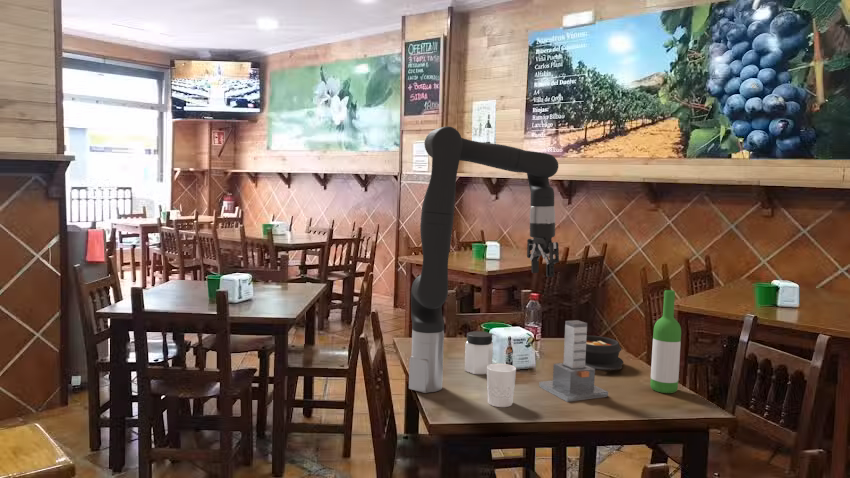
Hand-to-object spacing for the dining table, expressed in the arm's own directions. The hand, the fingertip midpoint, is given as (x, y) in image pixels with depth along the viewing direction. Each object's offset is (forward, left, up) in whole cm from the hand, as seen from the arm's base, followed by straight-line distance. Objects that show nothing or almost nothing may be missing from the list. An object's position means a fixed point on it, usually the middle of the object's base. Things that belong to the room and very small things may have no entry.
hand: (542, 274), depth 191 cm
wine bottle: (+18, -32, -33) cm, 50 cm away
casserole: (+30, -6, -33) cm, 45 cm away
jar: (-3, +20, -33) cm, 39 cm away
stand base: (-2, -12, -33) cm, 35 cm away
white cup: (-25, -1, -33) cm, 42 cm away
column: (-2, -12, -31) cm, 34 cm away
